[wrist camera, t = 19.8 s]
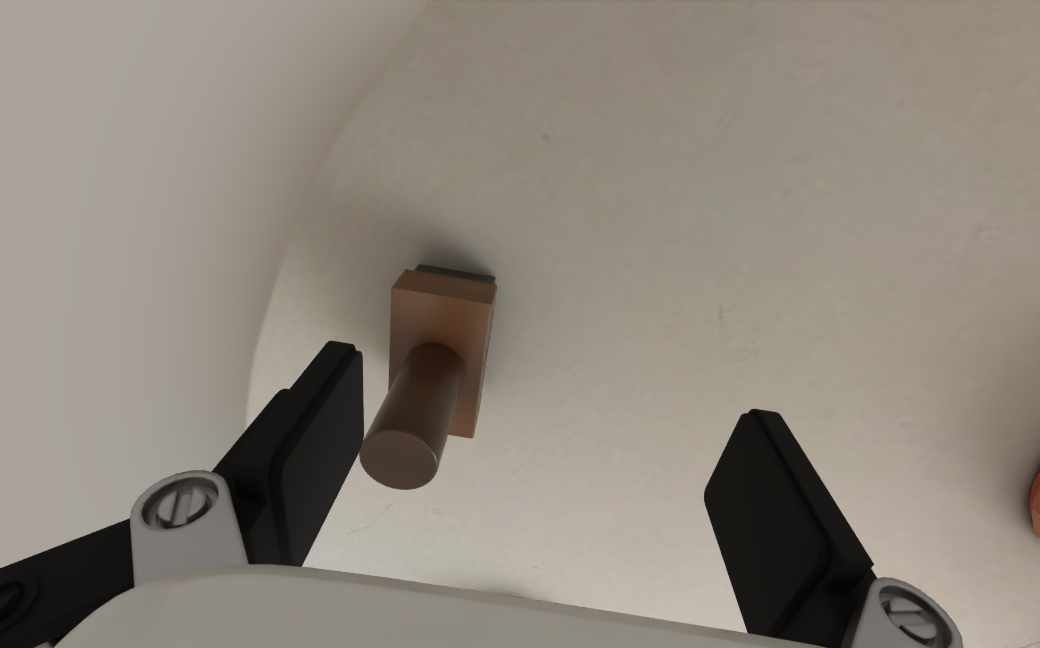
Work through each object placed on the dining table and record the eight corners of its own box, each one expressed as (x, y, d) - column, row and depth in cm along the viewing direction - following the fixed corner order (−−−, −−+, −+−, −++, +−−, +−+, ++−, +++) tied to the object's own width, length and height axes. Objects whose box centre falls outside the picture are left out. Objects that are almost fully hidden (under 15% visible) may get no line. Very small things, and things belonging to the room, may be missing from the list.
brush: (414, 256, 22) (333, 361, 14) (501, 271, 22) (470, 384, 14) (407, 382, 25) (339, 524, 17) (483, 394, 25) (449, 542, 17)
